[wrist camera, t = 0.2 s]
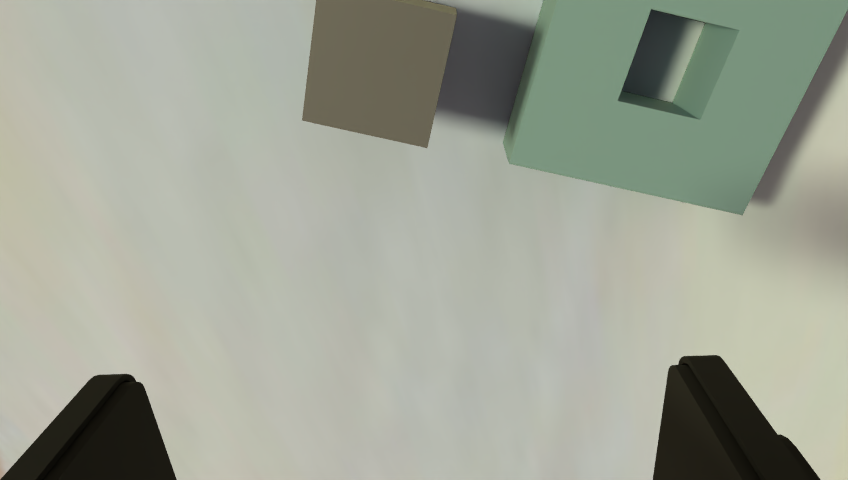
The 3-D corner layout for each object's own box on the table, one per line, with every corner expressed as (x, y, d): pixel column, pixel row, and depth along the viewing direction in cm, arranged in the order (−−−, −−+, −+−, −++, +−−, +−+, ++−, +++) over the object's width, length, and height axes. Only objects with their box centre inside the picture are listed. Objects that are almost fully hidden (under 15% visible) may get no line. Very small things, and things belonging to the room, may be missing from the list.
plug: (349, -22, 34) (318, -18, 26) (455, 3, 34) (456, 15, 26) (334, 86, 37) (302, 120, 29) (432, 108, 37) (427, 147, 29)
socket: (575, -111, 32) (593, -122, 27) (824, -48, 32) (878, -51, 28) (502, 142, 38) (509, 163, 34) (712, 189, 39) (742, 215, 35)
